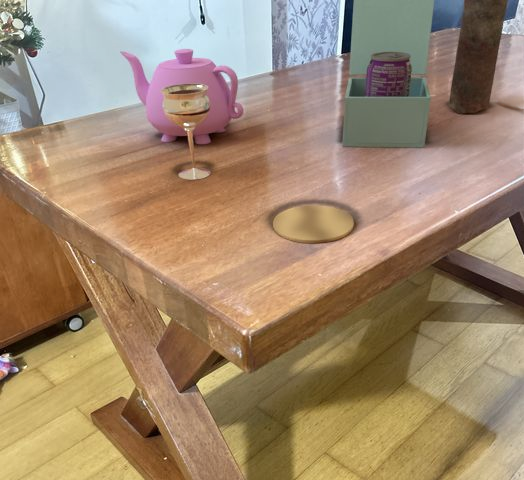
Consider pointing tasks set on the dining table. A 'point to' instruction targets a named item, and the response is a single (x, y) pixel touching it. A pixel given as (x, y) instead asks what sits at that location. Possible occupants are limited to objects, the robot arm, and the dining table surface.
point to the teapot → (183, 73)
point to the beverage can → (388, 75)
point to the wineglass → (187, 116)
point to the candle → (477, 54)
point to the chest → (386, 116)
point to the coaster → (313, 224)
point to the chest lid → (391, 32)
